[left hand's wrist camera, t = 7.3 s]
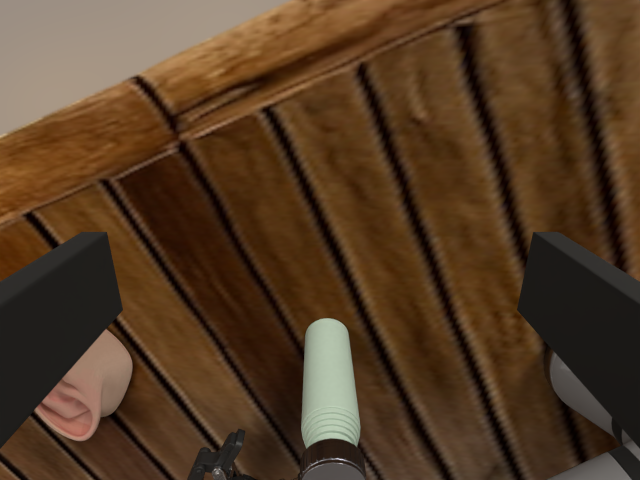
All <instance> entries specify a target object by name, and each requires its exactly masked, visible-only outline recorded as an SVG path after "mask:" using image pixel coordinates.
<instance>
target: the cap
mask: <svg viewBox="0 0 640 480" xmlns="http://www.w3.org/2000/svg"><path fill="white" fill-rule="evenodd" d="M300 480H366V472H365V464H364V459H363V454H361V452H360V449H358V448H357V447H356V446H355V445H354V444H352V443H350V442H348V441H346V440H343V439H336V438H329V439H323V440H319V441H317V442H315V443H313V444H312V445H310V446H309V447H308V448H307V449H306V450H305V452H304V453H303V456H302V458H301V463H300Z"/></svg>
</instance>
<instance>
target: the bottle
mask: <svg viewBox="0 0 640 480" xmlns="http://www.w3.org/2000/svg"><path fill="white" fill-rule="evenodd" d="M301 430H302V437H303V440H304V443H305V446H306V449H307V448H308V447H309V446H310V445H312V444H313V443H315V442H317V441H319V440H323V439H329V438H336V439H343V440H346V441H348V442H350V443H352V444H354V445H355V446H356V447H357V444H358V441H359V437H360V420H359V412H358V405H357V397H356V389H355V381H354V373H353V365H352V358H351V350H350V342H349V334H348V331H347V329H346V327H345V326H344V325H343V324H342V323H341V322H339V321H337V320H334V319H329V318H326V319H320V320H317V321H315V322H314V323H312V324H311V325H310V326H309V327H308V329H307V331H306V335H305V356H304V379H303V403H302V426H301Z"/></svg>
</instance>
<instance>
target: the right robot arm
mask: <svg viewBox="0 0 640 480" xmlns="http://www.w3.org/2000/svg"><path fill="white" fill-rule="evenodd" d="M244 435H245V431H244V430H241V429H238V431H237V432H236V433H234V432H232V433H230V434H229V435H228V437H227V439H226V441H225V442H224V444H223V446H222V448H221V449H220V450H218V452H211V450H210V449H209V448H206V447H204V448H201V449H200V451H199V453H198V455H197V458H196V460H195V462H194V465H193V467H192V469H191V472H190V474H189V476H188V478H187V480H204V474H205V472H212V475H213V478H214V480H256V479H254V478H253V477H251V476H248V475H245V474H243V476H239V473H238V471H237V468H236V465H235V463H234V460H235V458H236V456H237V455H238V453H239V451H240V450H241V447H242V445H243V440H244ZM280 480H285V479H280ZM292 480H300V473H299V474H298V477H297V478H295V479H292Z"/></svg>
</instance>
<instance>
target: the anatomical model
mask: <svg viewBox="0 0 640 480" xmlns="http://www.w3.org/2000/svg"><path fill="white" fill-rule="evenodd" d="M131 374H132V360H131V357H130V355H129V353H128V351H127V350H126V348H125V347H124V346H123V344H122V343H121V342H120V341H119V340H118V339H117V338H116V337H115V336H114V335H113V334H111V333H110V332H109V331H108V330H107V329H106V330H105V331H104V332H103V333H102V334H101V335H100V336H99V337H98V339H97V340H96V341H95V342H94V343H93V344H92V345H91V347H90V348H89V349H88V350H87V351H86V352H85V353H84V354H83V356H82V357H81V358H80V359H79V360H78V361H77V362H76V364H75V365H74V366H73V367H72V368H71V369H70V370H69V371H68V373H67V374H66V375H65V376H64V377H63V378H62V379H61V380H60V382H59V383H58V384H57V385H56V386H55V387H54V388H53V390H52V391H51V392H50V393H49V394H48V395H47V396H46V397H45V399H44V400H43V401H42V402H41V403H40V404H39V405H38V406H37V408H36V409H35V411H36V413H37V414H38V415H39V416H40V417H41V418H42V420H43V421H44V422H45V423H46V424H48V425H49V426H50V427H51V428H52V429H54V430H55V431H57V432H58V433H60V434H62V435H63V436H65V437H67V438H70V439H73V440H76V441H84V440H87V439H89V438H90V437H91V436H92V435H93V434H94V432H95V431H96V429H97V426H98V424H99V421H100V417H104V416H108V415H110V414H112V413H113V412H114V411H115V410H116V409H117V407H118V406H119V404H120V403H121V401H122V399H123V397H124V395H125V393H126V390H127V388H128V385H129V382H130V379H131Z"/></svg>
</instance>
